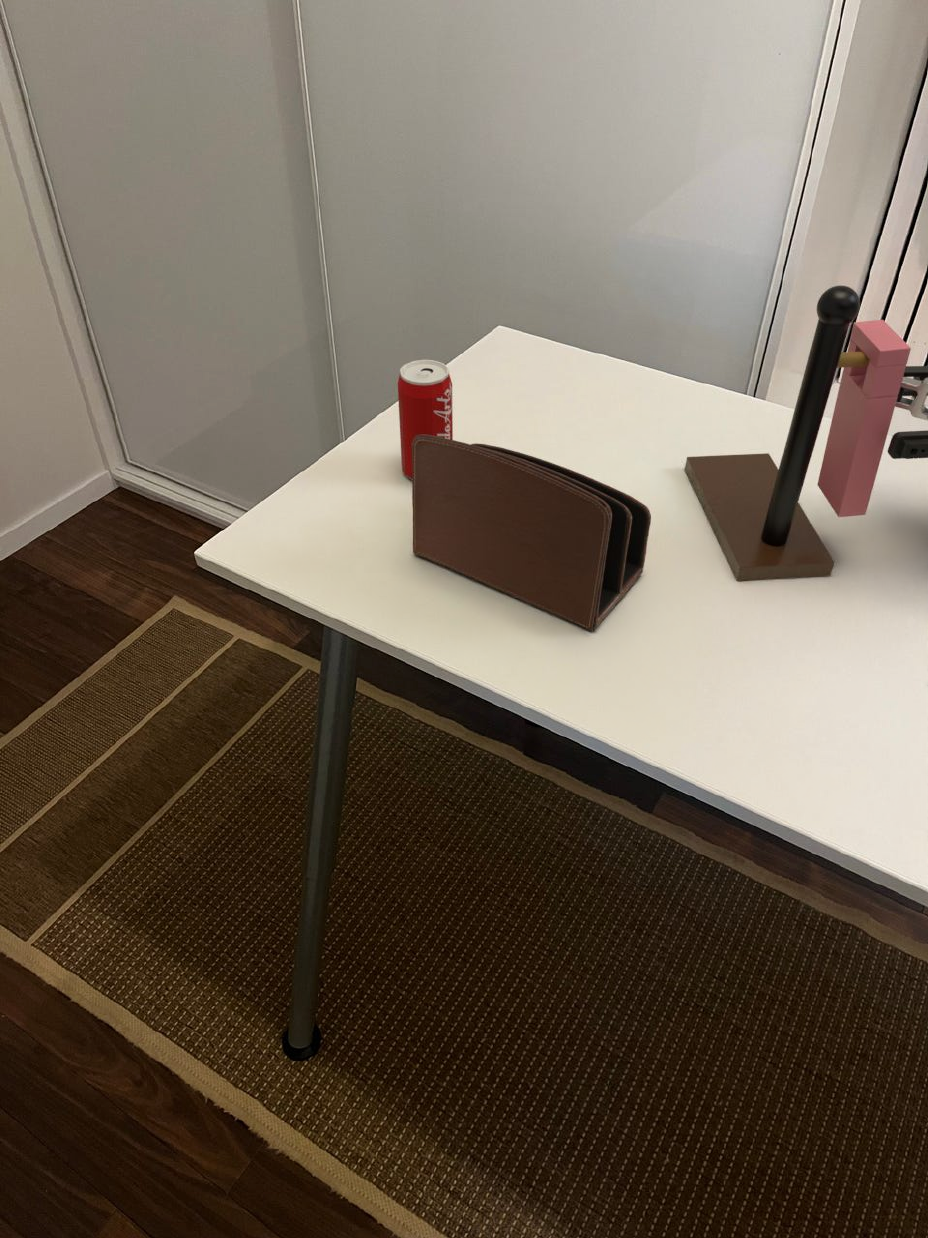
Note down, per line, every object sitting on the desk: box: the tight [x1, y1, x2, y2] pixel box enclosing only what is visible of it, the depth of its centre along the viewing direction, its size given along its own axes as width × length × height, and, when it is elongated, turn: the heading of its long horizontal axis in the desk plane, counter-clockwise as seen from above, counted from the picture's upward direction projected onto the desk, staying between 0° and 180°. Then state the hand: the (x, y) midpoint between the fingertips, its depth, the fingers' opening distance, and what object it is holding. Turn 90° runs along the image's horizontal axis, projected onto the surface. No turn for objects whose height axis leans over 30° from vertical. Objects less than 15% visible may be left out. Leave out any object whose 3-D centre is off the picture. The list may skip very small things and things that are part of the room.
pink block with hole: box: [817, 319, 912, 518], centre depth 82 cm, size 2×5×16 cm, turn 5°
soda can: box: [397, 359, 454, 480], centre depth 97 cm, size 6×6×12 cm
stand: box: [684, 285, 870, 582], centre depth 86 cm, size 12×19×26 cm, turn 5°
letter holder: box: [411, 434, 652, 633], centre depth 85 cm, size 10×20×14 cm, turn 56°
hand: (871, 419), depth 82 cm, fingers open, 8 cm apart
